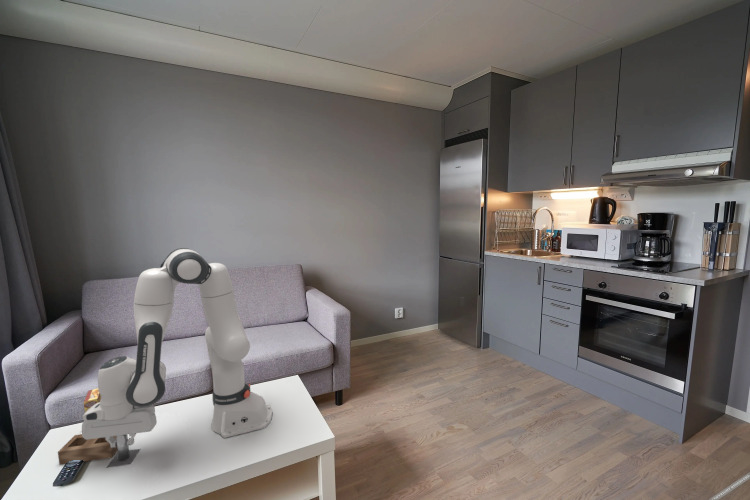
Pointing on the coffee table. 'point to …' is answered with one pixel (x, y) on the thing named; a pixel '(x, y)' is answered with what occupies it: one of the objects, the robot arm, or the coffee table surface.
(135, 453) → the mat
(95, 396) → the candy box
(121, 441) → the peg
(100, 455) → the socket block
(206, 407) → the coffee table surface
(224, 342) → the robot arm
